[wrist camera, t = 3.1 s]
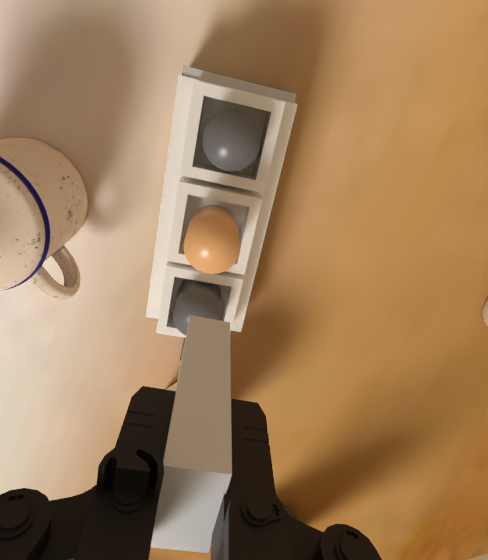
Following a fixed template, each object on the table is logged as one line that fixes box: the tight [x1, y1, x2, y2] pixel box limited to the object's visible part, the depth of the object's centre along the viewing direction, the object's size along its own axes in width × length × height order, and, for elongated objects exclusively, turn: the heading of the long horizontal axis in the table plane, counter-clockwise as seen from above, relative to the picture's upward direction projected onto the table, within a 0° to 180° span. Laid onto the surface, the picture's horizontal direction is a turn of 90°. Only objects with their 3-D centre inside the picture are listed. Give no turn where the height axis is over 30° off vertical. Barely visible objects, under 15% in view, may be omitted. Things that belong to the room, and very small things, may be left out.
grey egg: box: [202, 110, 260, 171], centre depth 25 cm, size 3×3×4 cm
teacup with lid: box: [0, 137, 88, 301], centre depth 26 cm, size 12×9×12 cm
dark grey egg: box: [173, 279, 221, 335], centre depth 29 cm, size 3×3×4 cm
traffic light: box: [146, 66, 298, 360], centre depth 30 cm, size 8×24×6 cm, turn 167°
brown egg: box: [184, 205, 240, 274], centre depth 25 cm, size 3×3×4 cm
